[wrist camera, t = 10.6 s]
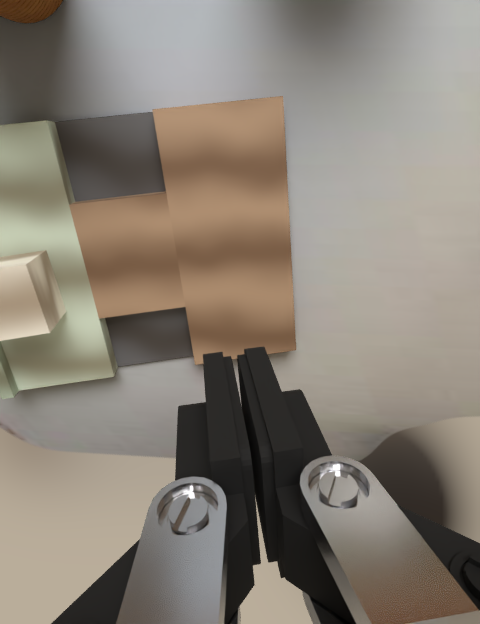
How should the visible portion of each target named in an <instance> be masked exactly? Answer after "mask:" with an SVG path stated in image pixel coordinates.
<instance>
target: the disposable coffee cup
mask: <svg viewBox="0 0 480 624" xmlns="http://www.w3.org/2000/svg"><path fill="white" fill-rule="evenodd" d="M62 1H63V0H0V16H2V17H4V18H6V19H9V20H12V21H15V22H20V23H35V22H38V21H41V20H44V19H46V18H47V17H49V16H50V15H52V14H53V13H54V12H55V11H56V9H57V8H58V7H59V6H60V4H61V3H62Z"/></svg>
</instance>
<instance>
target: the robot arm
mask: <svg viewBox="0 0 480 624" xmlns="http://www.w3.org/2000/svg"><path fill="white" fill-rule="evenodd" d="M237 361H238V372H239V383H240V393H241V402H240V397H239V392H238V387H237V382H236V378H235V373H234V368H233V363H232V358H231V356H226V357H223V352H216V353H208V354H203V366H204V381H205V395H206V402H204V403H197V404H190V405H182V406H179V407H178V424H177V449H176V475H175V481H174V482H171V483H170V484H168V485H167V486H165V487H164V488H163V489H161V490H160V491H159V492H158V494H157V495H156V496H155V497H154V498H153V500H152V503H151V505H150V507H149V510H148V513H147V517H146V520H145V524H144V527H143V531H142V534H141V538H140V539H139V540H138V541H137V542H136V543H135V544H134V545H133V546H132V547H131V548H130V549H129V550H128V551H127V552H126V553H125V554H124V555H123V556H122V557H121V558H120V559H119V560H117V561H116V562H115V563H114V564H113V565H112V566H111V567H110V568H109V569H108V570H107V571H106V572H105V573H104V574H103V575H102V576H101V577H100V578H99V579H98V580H97V581H95V582H94V583H93V584H92V585H91V587H89V588H88V589H87V590H86V591H85V592H84V593H83V594H82V595H81V596H80V597H79V598H78V599H77V600H76V601H74V602H73V603H72V605H70V606H69V607H68V608H67V609H66V610H65V611H64V612H63V613H62V614H61V615H60V616H59V617H58V618H57V619H56V620H55V621H54V622H53V623H52V624H240V621H241V620H240V619H241V616H240V607H239V606H240V604H241V603H242V602H243V600H244V599H245V598H246V596H247V595H248V593H249V592H250V590H251V589H252V588H253V586H254V575H253V565H257V564H260V563H261V560H260V549H259V538H258V526H257V514H256V502H257V507H258V512H259V517H260V522H261V528H262V533H263V538H264V543H265V548H266V554H267V559H268V562H274V561H277V562H278V567H279V571H280V576H281V578H283V577H285V578H286V580H287V581H289V582H291V583H292V584H293V585H295V586H296V587H298V588H299V589H301V590H302V591H303V597H304V601H305V604H306V607H307V610H308V612H309V615H310V617H311V619H312V622H313V624H480V543H478V542H476V541H474V540H471V539H469V538H467V537H465V536H463V535H461V534H459V533H456V532H454V531H452V530H450V529H448V528H446V527H444V526H441V525H439V524H437V523H435V522H433V521H431V520H429V519H426V518H424V517H422V516H420V515H418V514H416V513H414V512H411V511H409V510H407V509H405V508H403V507H401V506H398V505H396V503H395V502H394V501H393V499H392V498H391V497H390V495H389V494H388V493H387V492H386V491H385V489H384V488H383V486H382V485H381V484H380V483H379V481H378V480H377V479H376V477H375V476H374V475H373V474H372V473H371V472H370V471H369V470H368V469H367V468H366V467H365V466H364V465H362V464H361V463H359V462H357V461H355V460H353V459H350V458H347V457H343V456H332V454H331V452H330V450H329V448H328V446H327V443H326V441H325V439H324V437H323V435H322V433H321V431H320V428H319V426H318V424H317V422H316V420H315V418H314V415H313V413H312V411H311V409H310V407H309V405H308V403H307V400H306V398H305V396H304V394H303V392H302V391H301V390H300V389H299V390H292V391H285V392H282V391H281V389H280V386H279V384H278V381H277V378H276V376H275V373H274V370H273V368H272V365H271V362H270V360H269V357H268V355H267V352H266V349H265V347H264V346H263V347H255V348H247V349H244V354H242V355H237ZM241 404H242V407H241ZM255 496H256V502H255Z"/></svg>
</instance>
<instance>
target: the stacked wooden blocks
mask: <svg viewBox="0 0 480 624" xmlns="http://www.w3.org/2000/svg"><path fill="white" fill-rule="evenodd" d="M44 250H46V251H47V254H48V257H49V260H50V263H51V266H52V269H53V272H54V275H55V278H56V281H57V284H58V287H59V290H60V293H61V296H62V299H63V303H64V306H65V309H66V313H65V314H64V315H63V316H62V318H61V319H60V320H59V322H58V323H57V324H56V326H55V327H54V328H53V330H52V331H51V332H50V333H46V334H40V335H34V336H28V337H21V338H15V339H9V340H3V341H0V396H1V399H7V398H13V397H15V396H16V394H17V393H18V391H20V390H26V389H33V388H40V387H47V386H54V385H61V384H67V383H74V382H81V381H88V380H95V379H102V378H108V377H114V376H115V373H116V370H117V367H119V366H126V365H133V364H140V363H147V362H153V361H160V360H167V359H174V358H181V357H188V356H194V361H195V365H197V364H203V354H208V353H216V352H223V357H226V356H231V358H232V359H237V355H242V354H244V349H247V348H255V347H263V346H264V347H265V349H266V352H267V354H272V353H279V352H286V351H293V350H296V339H295V320H294V301H293V281H292V262H291V243H290V223H289V204H288V185H287V165H286V146H285V127H284V107H283V96H279V97H270V98H260V99H250V100H240V101H231V102H221V103H211V104H201V105H192V106H182V107H172V108H162V109H153V112H147V113H137V114H127V115H118V116H108V117H98V118H88V119H79V120H69V121H59V122H53V121H47V120H45V121H36V122H26V123H16V124H6V125H0V257H4V256H10V255H17V254H24V253H30V252H37V251H44Z"/></svg>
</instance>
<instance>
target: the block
mask: <svg viewBox="0 0 480 624" xmlns="http://www.w3.org/2000/svg"><path fill="white" fill-rule="evenodd" d="M65 313H66V309H65V306H64V303H63V299H62V296H61V293H60V290H59V287H58V284H57V281H56V278H55V275H54V272H53V269H52V266H51V263H50V260H49V257H48V254H47V251H46V250H44V251H37V252H30V253H24V254H17V255H10V256H4V257H0V341H3V340H9V339H15V338H21V337H28V336H34V335H40V334H46V333H50V332H51V331H52V330H53V328H54V327H55V326H56V324H57V323H58V322H59V320H60V319H61V318H62V316H63V315H64V314H65Z"/></svg>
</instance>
